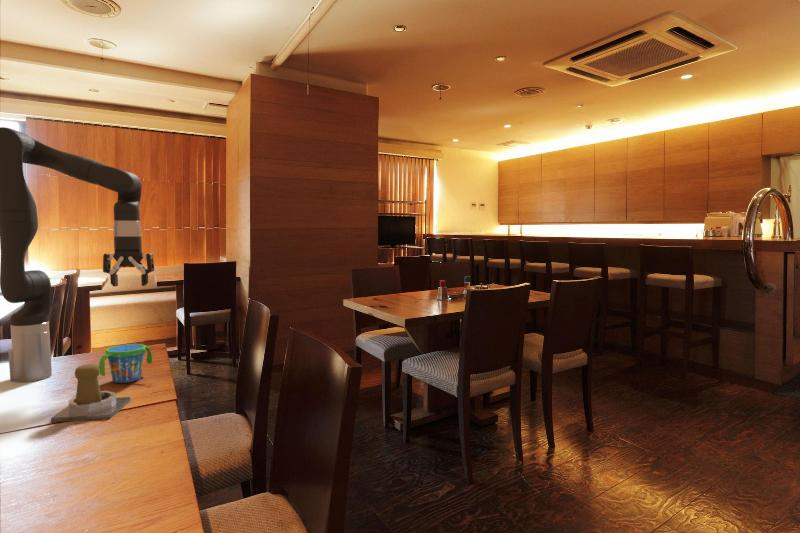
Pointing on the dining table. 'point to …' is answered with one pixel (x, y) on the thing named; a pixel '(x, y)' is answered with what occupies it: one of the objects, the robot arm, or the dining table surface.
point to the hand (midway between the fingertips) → (129, 285)
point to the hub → (92, 408)
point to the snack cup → (125, 362)
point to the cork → (88, 384)
